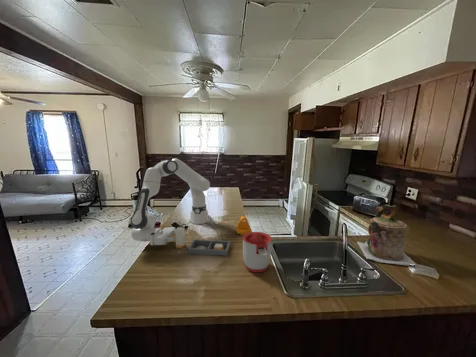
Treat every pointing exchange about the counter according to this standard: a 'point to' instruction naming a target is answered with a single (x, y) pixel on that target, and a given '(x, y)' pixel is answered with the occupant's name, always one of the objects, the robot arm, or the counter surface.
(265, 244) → the citrus juicer
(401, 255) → the cookie jar
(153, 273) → the counter surface
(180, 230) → the white upright block
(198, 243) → the grey divided tray
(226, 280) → the counter surface
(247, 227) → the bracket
